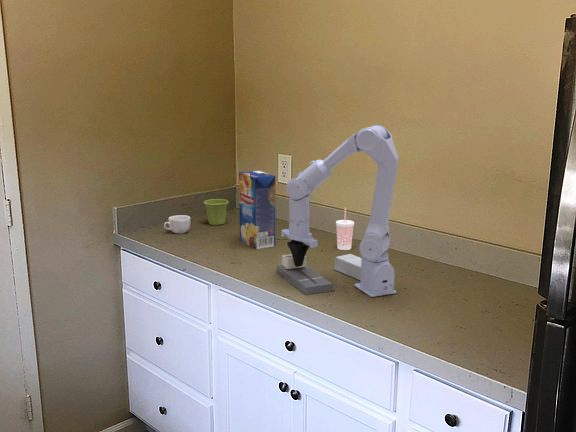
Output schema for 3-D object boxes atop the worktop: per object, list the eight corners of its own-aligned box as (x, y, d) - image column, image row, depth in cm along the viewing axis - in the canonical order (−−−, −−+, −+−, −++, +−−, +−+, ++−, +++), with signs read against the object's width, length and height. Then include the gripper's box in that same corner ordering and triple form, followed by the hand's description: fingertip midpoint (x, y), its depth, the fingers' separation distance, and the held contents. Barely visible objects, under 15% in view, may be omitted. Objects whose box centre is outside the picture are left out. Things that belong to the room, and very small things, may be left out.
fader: (306, 266, 177) (306, 256, 176) (287, 269, 175) (287, 258, 174) (300, 262, 181) (300, 252, 180) (282, 265, 178) (282, 254, 178)
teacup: (184, 228, 227) (184, 214, 226) (194, 232, 221) (194, 218, 220) (159, 232, 221) (159, 217, 220) (169, 237, 215) (168, 222, 214)
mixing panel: (332, 290, 165) (332, 283, 164) (305, 294, 162) (305, 287, 161) (301, 268, 183) (301, 261, 182) (277, 271, 180) (277, 265, 179)
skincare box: (334, 270, 182) (361, 283, 172) (334, 255, 180) (361, 268, 171) (350, 266, 185) (377, 278, 175) (351, 252, 184) (378, 264, 174)
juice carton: (275, 246, 205) (275, 175, 199) (255, 249, 202) (255, 177, 196) (258, 237, 215) (258, 170, 209) (239, 240, 212) (238, 172, 206)
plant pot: (201, 226, 230) (200, 203, 228) (208, 220, 239) (208, 198, 237) (225, 227, 229) (224, 204, 227) (231, 221, 238) (231, 199, 236)
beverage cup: (348, 244, 208) (350, 204, 204) (356, 249, 202) (357, 208, 199) (332, 246, 206) (333, 205, 202) (339, 251, 200) (340, 209, 197)
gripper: (326, 223, 168) (325, 270, 171) (295, 212, 179) (294, 257, 183) (306, 226, 164) (305, 274, 167) (275, 216, 175) (275, 261, 179)
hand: (298, 265), depth 175 cm, fingers closed
